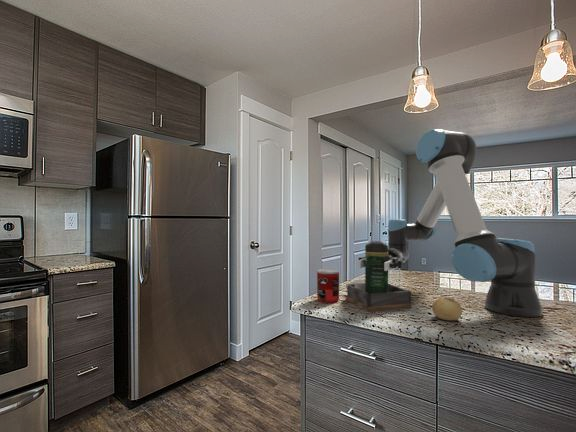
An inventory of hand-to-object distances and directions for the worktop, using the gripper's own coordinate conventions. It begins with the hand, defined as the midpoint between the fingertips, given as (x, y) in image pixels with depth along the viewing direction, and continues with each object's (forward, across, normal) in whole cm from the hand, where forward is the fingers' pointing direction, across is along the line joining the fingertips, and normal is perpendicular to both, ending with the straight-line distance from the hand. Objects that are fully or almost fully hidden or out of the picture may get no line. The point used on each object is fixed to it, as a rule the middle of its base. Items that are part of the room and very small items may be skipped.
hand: (372, 265), depth 105 cm
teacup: (-13, +10, -14) cm, 22 cm away
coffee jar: (-5, 0, -11) cm, 12 cm away
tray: (-5, 0, -14) cm, 15 cm away
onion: (0, -23, -14) cm, 27 cm away
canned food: (+1, +16, -14) cm, 22 cm away
